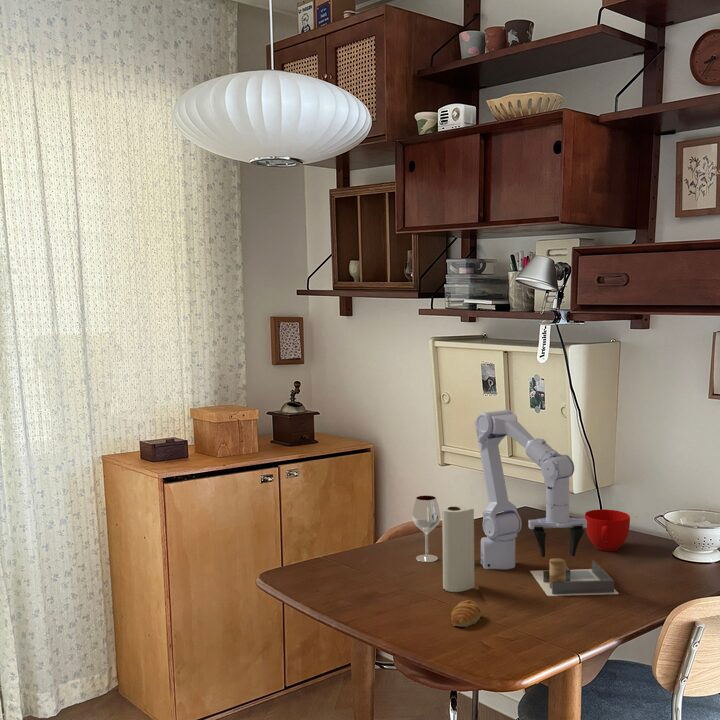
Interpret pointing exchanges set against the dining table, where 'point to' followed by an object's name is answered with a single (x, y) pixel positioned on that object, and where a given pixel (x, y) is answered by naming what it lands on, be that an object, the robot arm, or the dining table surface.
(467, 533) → the paper towel roll
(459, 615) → the pastry
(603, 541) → the ceramic cup
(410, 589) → the dining table surface
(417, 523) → the wineglass
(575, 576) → the track board
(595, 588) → the metal rails
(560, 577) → the oak dowel
